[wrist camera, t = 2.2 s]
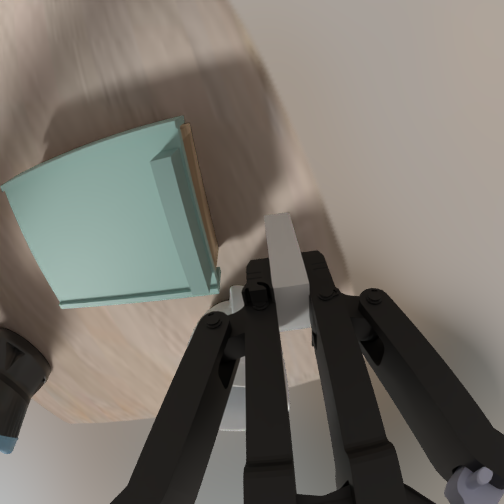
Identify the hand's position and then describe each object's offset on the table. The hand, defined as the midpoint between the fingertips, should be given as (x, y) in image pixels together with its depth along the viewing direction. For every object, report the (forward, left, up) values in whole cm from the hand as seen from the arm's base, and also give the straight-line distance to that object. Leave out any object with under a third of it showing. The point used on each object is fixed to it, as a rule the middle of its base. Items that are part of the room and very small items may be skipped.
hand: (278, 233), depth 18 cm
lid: (-15, 0, -7) cm, 17 cm away
